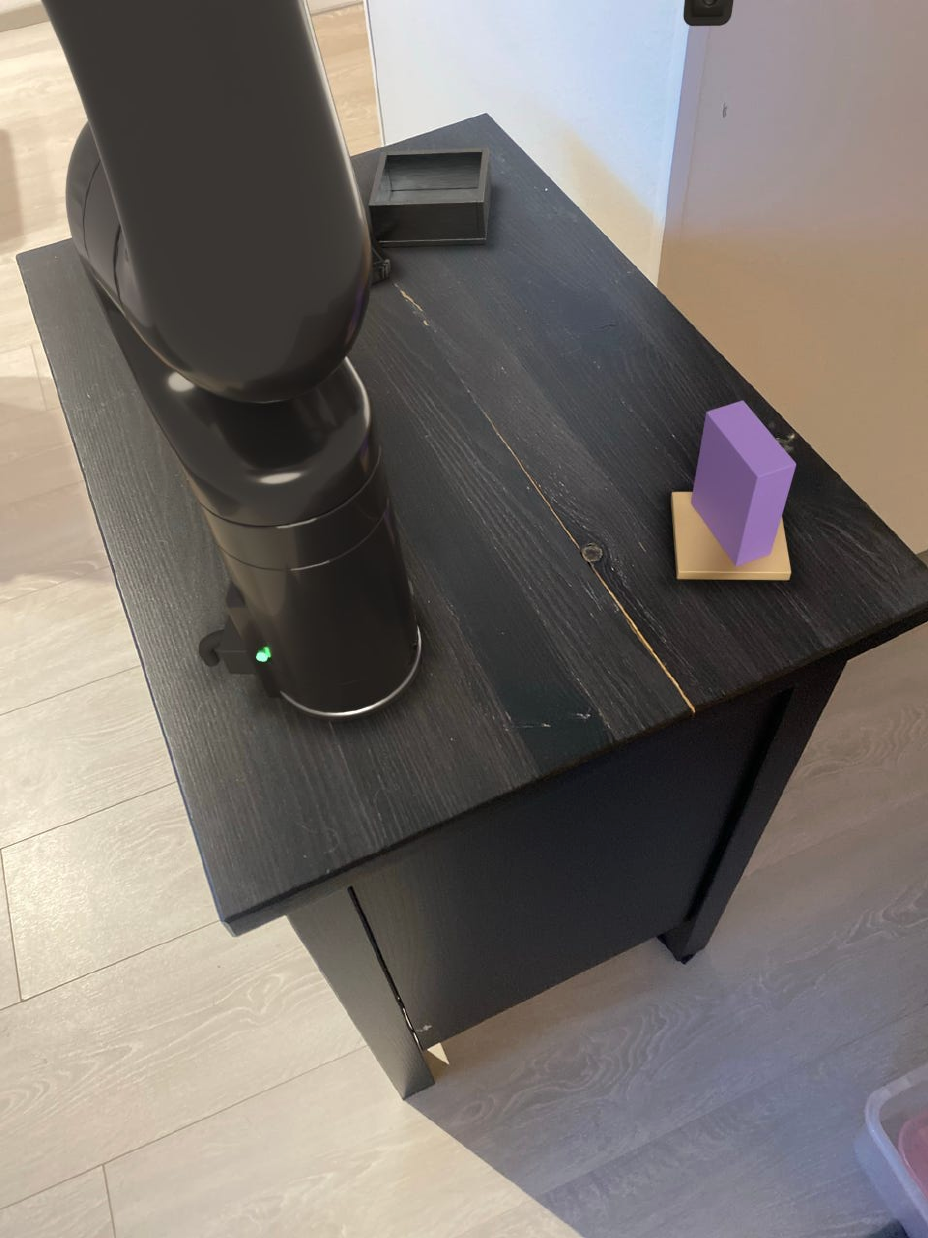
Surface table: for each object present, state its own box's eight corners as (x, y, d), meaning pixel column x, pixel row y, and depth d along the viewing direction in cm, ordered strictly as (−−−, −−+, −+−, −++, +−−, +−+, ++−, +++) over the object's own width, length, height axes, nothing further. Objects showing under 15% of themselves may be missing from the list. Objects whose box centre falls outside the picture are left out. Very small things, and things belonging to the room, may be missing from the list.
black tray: (375, 247, 86) (368, 204, 82) (387, 193, 91) (381, 150, 87) (485, 244, 84) (483, 201, 81) (491, 189, 90) (489, 146, 86)
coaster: (676, 579, 61) (677, 571, 60) (670, 499, 65) (671, 491, 64) (789, 580, 60) (791, 572, 59) (775, 499, 64) (778, 491, 63)
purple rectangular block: (735, 566, 60) (757, 476, 53) (690, 503, 63) (705, 411, 57) (771, 554, 60) (796, 463, 54) (724, 492, 64) (743, 399, 57)
